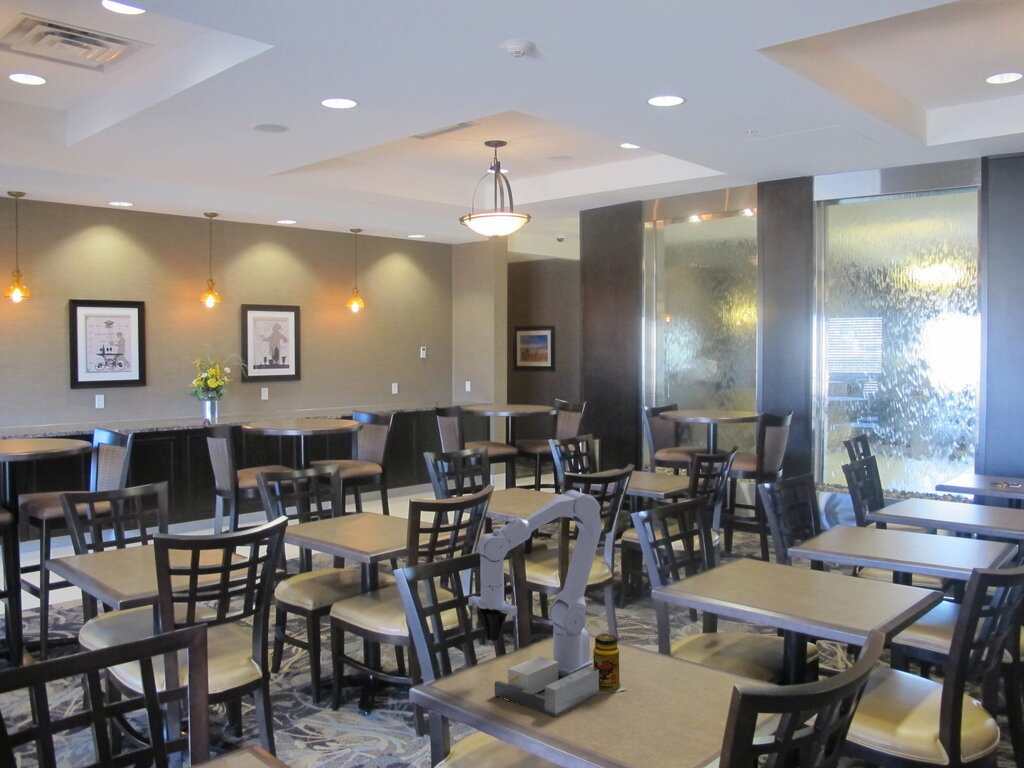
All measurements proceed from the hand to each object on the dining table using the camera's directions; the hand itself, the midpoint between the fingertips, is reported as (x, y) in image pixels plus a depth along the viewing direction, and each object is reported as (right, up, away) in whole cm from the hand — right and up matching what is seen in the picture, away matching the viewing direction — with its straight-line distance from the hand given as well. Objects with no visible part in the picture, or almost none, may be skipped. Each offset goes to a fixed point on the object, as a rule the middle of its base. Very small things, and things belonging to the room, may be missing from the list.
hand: (492, 639), depth 203 cm
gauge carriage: (+9, -8, -9) cm, 15 cm away
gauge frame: (+13, -10, -11) cm, 19 cm away
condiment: (+27, -10, -6) cm, 29 cm away
